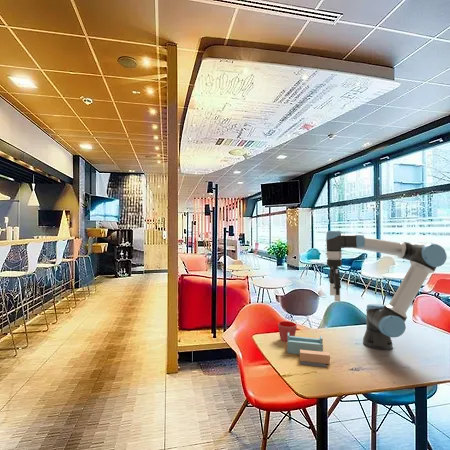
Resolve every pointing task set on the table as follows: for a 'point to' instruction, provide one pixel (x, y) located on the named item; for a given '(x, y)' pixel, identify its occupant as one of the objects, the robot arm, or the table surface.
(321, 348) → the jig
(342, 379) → the table surface
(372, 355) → the table surface
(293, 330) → the flower pot
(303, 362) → the mat
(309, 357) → the bar
